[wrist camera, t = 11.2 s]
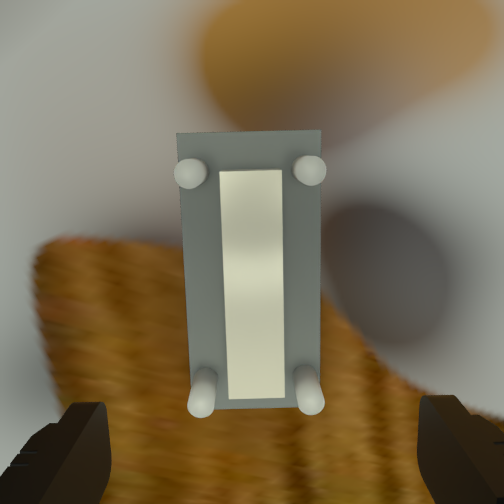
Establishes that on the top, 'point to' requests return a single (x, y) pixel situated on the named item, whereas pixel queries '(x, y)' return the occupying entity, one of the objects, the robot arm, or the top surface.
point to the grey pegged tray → (211, 260)
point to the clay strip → (253, 281)
